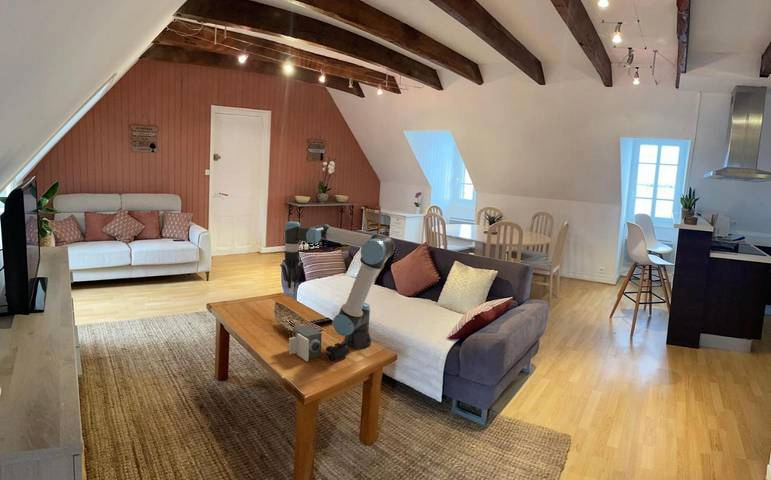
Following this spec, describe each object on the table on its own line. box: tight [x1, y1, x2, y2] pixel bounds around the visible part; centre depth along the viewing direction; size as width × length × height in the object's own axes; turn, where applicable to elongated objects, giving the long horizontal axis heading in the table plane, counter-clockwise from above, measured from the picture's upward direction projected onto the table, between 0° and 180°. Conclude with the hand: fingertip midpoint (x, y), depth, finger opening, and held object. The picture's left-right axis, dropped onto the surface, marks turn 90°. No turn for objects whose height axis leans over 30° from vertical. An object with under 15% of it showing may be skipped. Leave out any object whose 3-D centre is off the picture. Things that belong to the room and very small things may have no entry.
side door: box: [288, 333, 310, 362], centre depth 243 cm, size 6×10×11 cm, turn 38°
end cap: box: [325, 342, 350, 362], centre depth 248 cm, size 10×7×7 cm
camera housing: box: [292, 324, 323, 359], centre depth 251 cm, size 9×16×12 cm, turn 38°
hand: (291, 293), depth 265 cm, fingers closed
